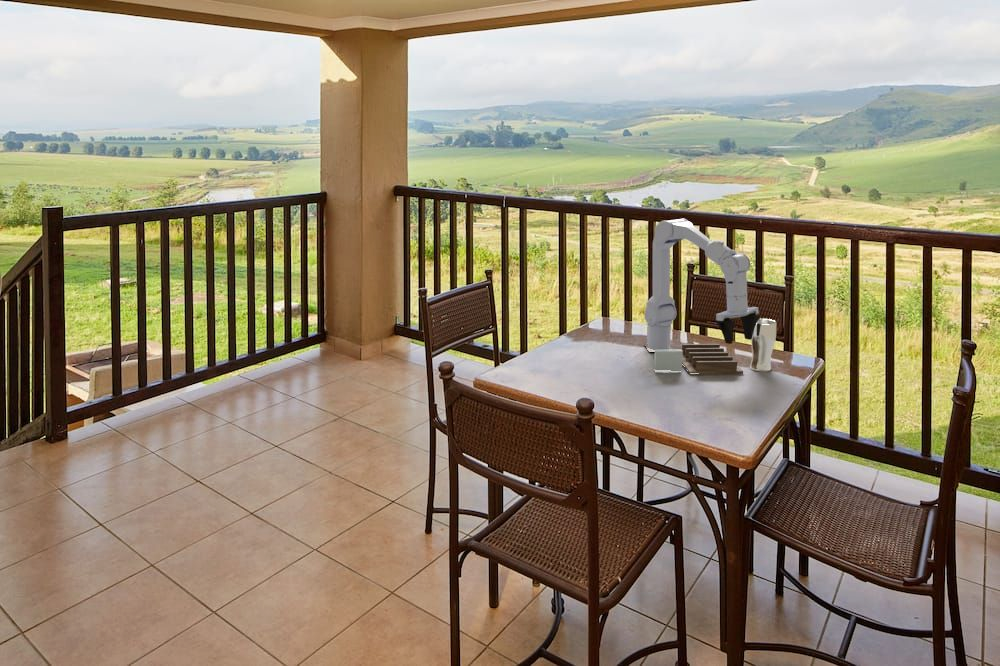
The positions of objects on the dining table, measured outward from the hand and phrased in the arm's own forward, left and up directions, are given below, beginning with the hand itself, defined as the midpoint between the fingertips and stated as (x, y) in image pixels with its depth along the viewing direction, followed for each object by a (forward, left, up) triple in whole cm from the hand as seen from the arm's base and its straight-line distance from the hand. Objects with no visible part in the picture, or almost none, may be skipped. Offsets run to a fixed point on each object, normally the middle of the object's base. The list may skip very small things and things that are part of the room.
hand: (738, 341), depth 192 cm
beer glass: (-5, +9, -11) cm, 15 cm away
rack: (-9, -6, -10) cm, 15 cm away
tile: (-3, -20, -11) cm, 23 cm away
